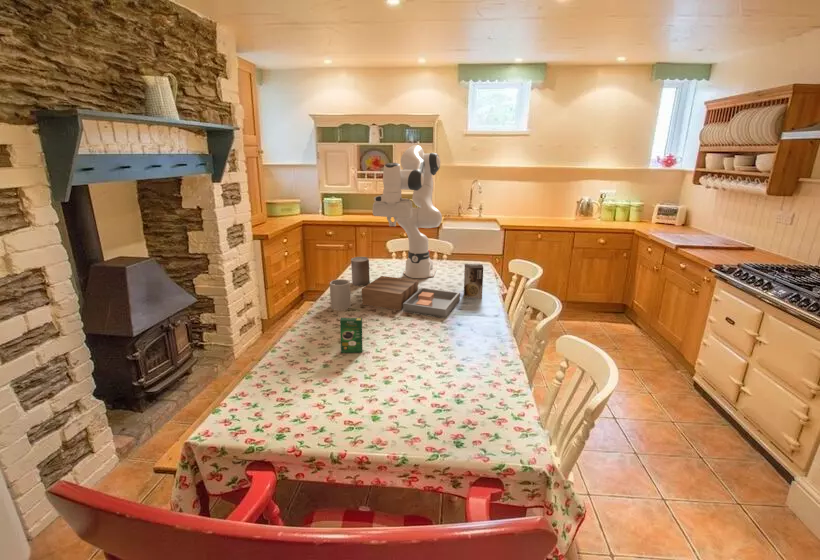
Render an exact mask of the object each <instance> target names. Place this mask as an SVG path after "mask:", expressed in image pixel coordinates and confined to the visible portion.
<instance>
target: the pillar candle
mask: <svg viewBox="0 0 820 560" xmlns="http://www.w3.org/2000/svg"><path fill="white" fill-rule="evenodd" d="M350 265H351V283H352V285H355V286H357V285H358V286H359V287H360V285H363V286H367V285H368V284H370V283H371V281H370V279H371V277H370V259H369V257H366V256H356V257H353V258H352V257H351V259H350Z"/></svg>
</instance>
